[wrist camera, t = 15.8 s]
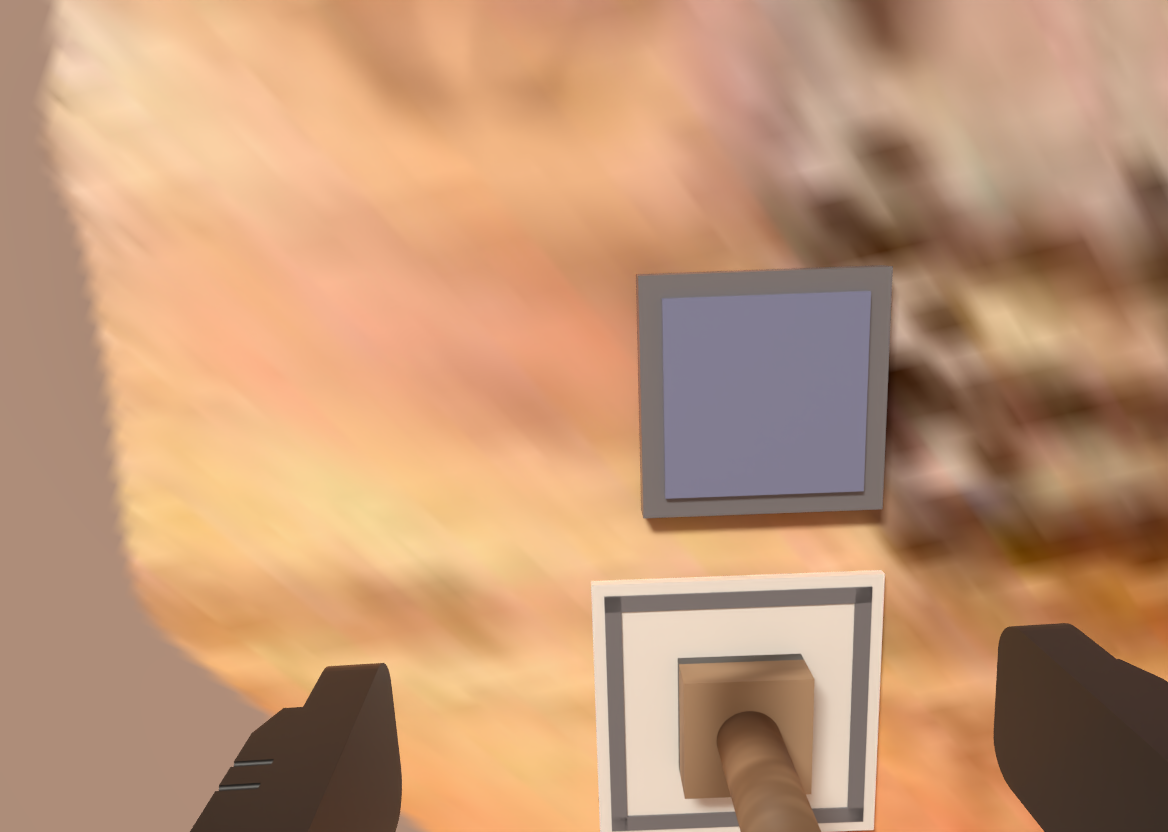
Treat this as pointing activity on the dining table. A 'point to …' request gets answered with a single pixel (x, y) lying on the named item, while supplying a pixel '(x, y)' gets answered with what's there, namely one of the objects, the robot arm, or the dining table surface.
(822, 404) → the ink pad
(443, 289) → the dining table surface
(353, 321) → the dining table surface
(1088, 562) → the dining table surface
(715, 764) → the stamp
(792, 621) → the marked card
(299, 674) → the dining table surface
